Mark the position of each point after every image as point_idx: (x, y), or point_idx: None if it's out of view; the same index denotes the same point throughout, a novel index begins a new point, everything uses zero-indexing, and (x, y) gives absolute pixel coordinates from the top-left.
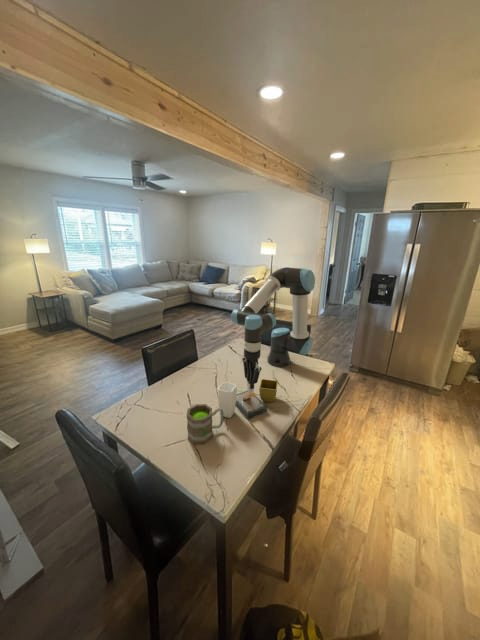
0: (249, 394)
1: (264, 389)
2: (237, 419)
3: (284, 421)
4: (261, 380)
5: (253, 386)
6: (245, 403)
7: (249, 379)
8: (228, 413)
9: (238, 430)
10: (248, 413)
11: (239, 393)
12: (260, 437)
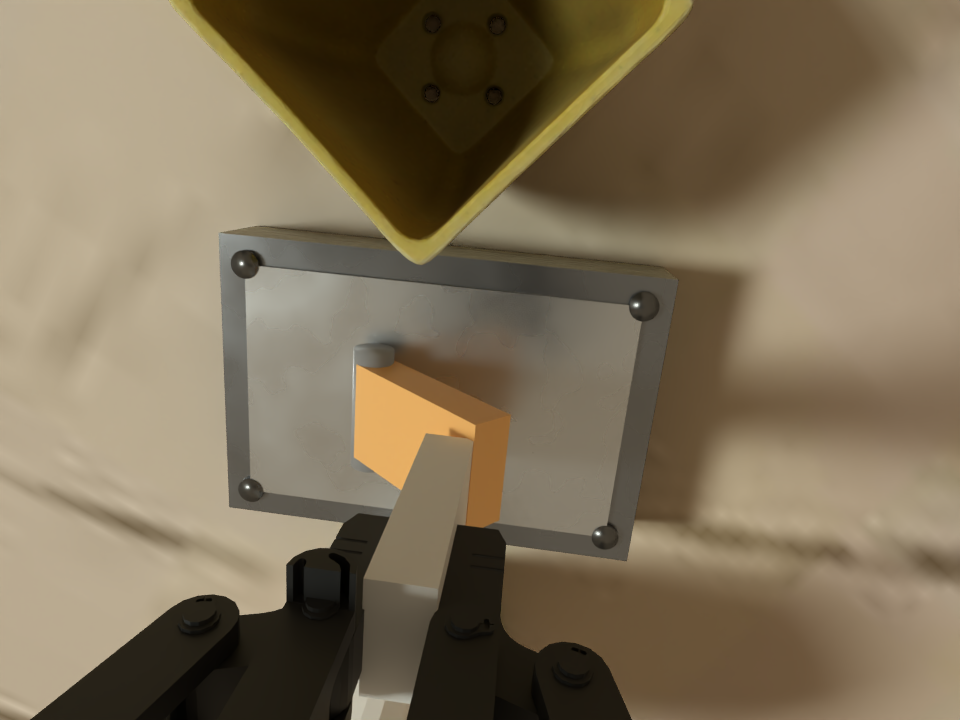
0: (469, 515)
1: (496, 196)
2: (552, 591)
3: (946, 212)
4: (212, 36)
5: (502, 582)
6: None
7: (344, 691)
8: None
9: (680, 669)
10: (625, 553)
11: (228, 393)
12: (900, 586)
